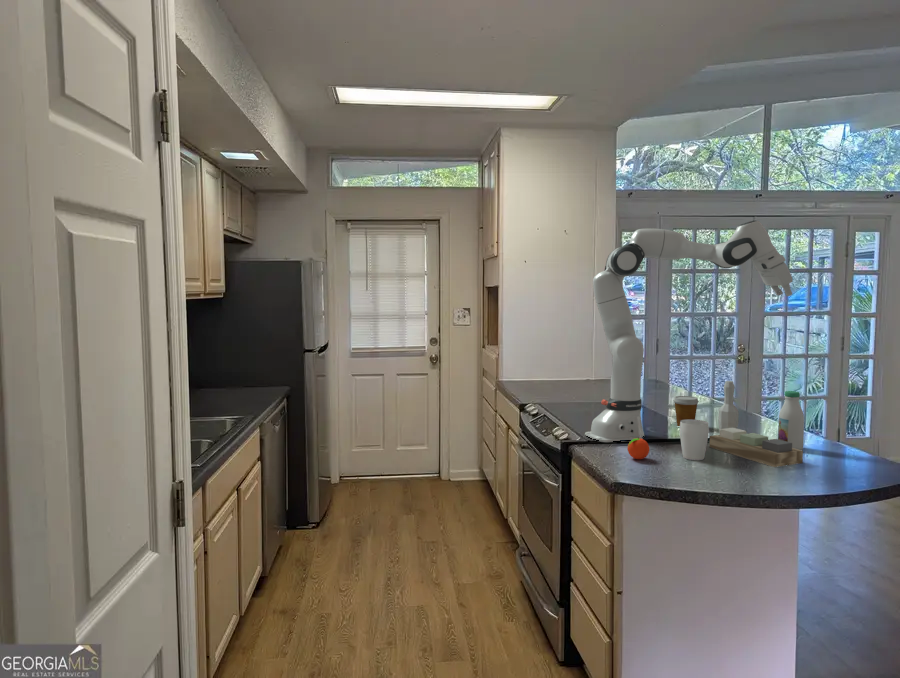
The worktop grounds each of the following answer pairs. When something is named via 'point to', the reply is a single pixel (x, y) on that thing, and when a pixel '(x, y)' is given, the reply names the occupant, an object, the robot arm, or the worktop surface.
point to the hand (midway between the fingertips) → (784, 295)
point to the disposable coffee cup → (685, 408)
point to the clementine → (638, 448)
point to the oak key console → (756, 452)
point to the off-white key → (731, 433)
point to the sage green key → (752, 439)
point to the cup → (694, 438)
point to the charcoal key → (777, 445)
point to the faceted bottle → (728, 408)
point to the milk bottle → (791, 421)
